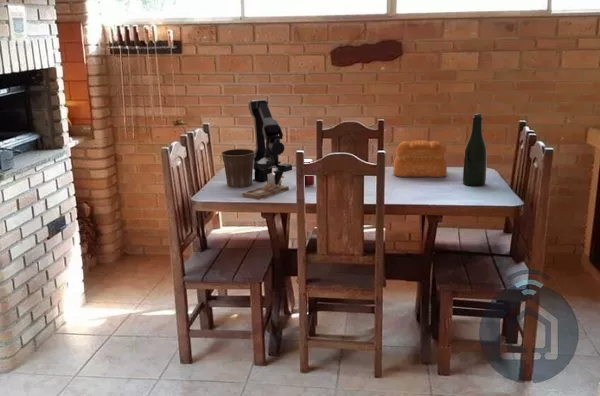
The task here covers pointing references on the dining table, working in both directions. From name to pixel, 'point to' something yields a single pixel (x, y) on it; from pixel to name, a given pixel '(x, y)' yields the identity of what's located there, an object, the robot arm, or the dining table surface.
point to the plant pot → (238, 166)
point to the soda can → (309, 179)
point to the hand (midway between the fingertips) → (273, 184)
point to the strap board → (264, 192)
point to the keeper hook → (280, 180)
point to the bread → (420, 159)
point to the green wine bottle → (475, 156)
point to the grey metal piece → (271, 181)
